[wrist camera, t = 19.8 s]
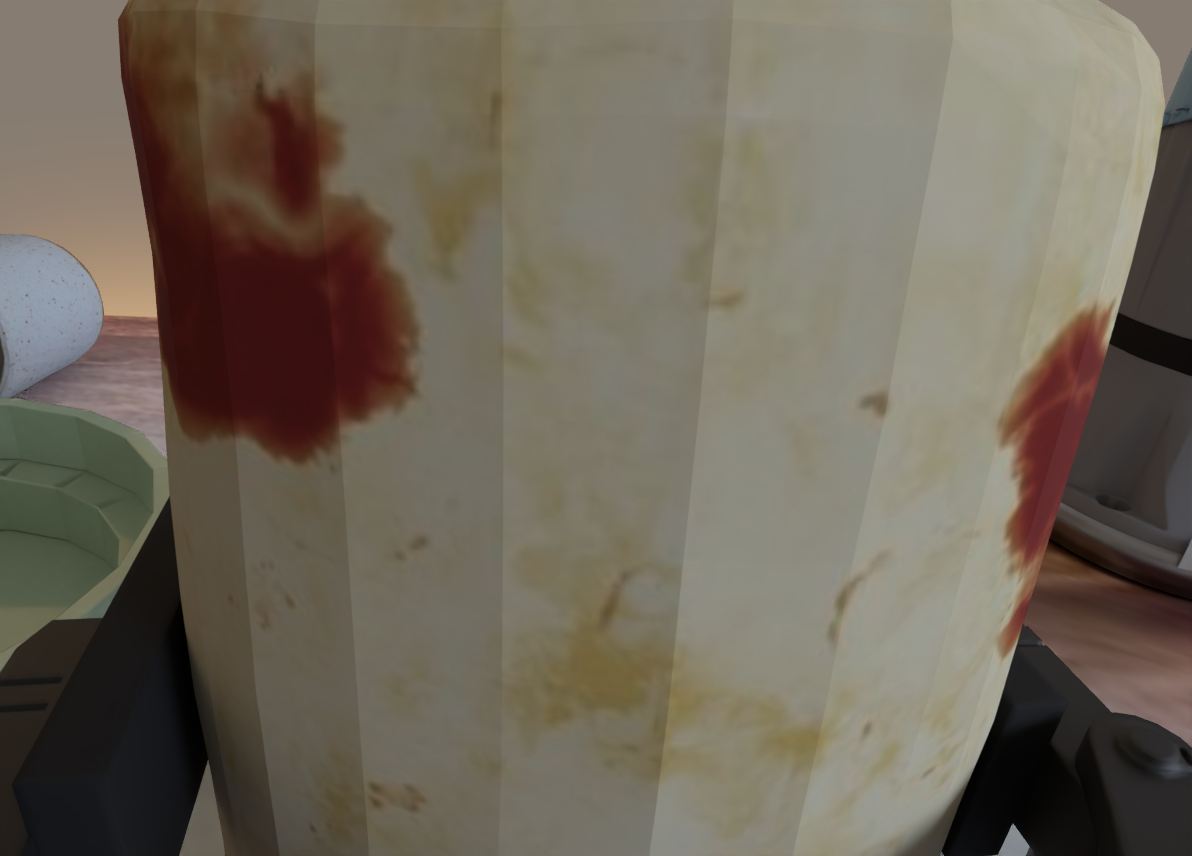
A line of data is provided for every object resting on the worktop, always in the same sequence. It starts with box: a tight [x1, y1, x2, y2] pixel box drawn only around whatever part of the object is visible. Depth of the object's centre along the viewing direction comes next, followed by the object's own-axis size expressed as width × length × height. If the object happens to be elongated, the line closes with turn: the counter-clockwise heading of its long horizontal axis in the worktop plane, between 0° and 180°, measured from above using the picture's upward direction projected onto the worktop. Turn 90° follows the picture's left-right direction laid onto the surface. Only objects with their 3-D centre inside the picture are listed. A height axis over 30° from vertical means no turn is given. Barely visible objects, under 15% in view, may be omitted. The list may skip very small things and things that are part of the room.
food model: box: [118, 0, 1165, 856], centre depth 11 cm, size 10×7×20 cm
